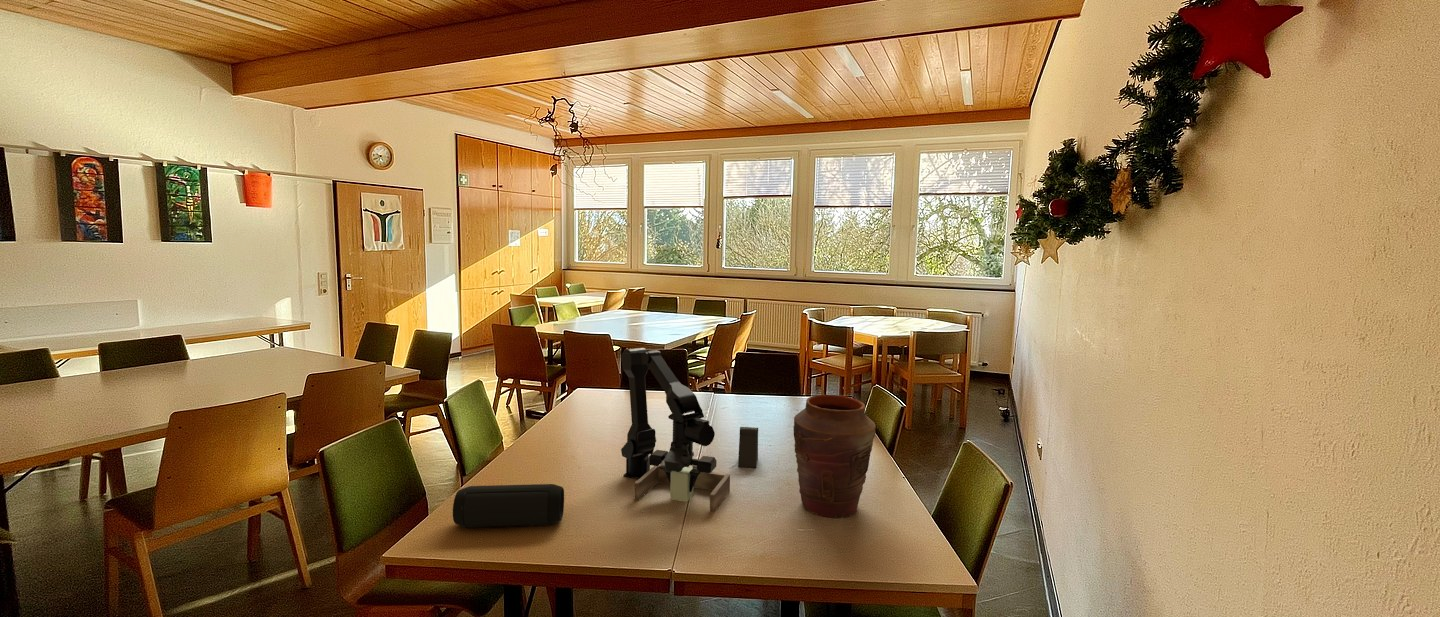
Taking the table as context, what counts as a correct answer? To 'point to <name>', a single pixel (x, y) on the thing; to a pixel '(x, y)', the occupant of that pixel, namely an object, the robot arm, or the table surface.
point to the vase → (832, 453)
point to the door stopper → (748, 447)
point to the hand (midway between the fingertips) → (681, 490)
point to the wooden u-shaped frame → (703, 481)
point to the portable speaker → (508, 505)
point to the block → (681, 485)
